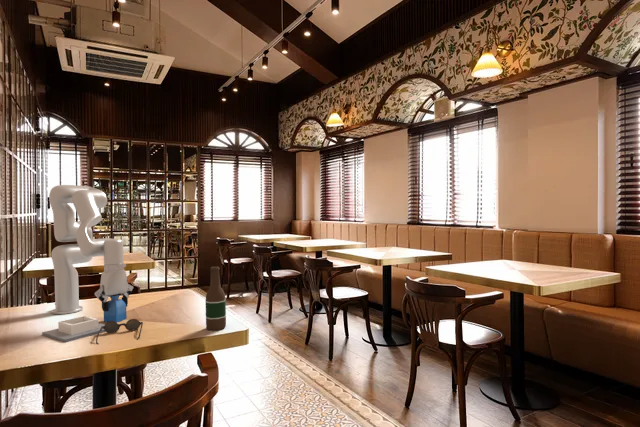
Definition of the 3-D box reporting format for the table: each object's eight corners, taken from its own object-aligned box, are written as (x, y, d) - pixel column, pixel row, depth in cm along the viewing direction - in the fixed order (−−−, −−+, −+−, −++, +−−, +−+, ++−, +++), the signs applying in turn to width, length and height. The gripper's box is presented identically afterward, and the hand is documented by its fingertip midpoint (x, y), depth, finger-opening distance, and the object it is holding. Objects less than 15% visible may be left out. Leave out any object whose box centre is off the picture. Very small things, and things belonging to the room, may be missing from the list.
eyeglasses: (143, 329, 160) (142, 317, 160) (140, 340, 146) (140, 327, 146) (101, 334, 155) (101, 321, 155) (94, 346, 141) (94, 332, 141)
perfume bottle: (116, 322, 170) (115, 294, 170) (103, 322, 171) (103, 293, 171) (126, 318, 176) (125, 291, 176) (114, 318, 177) (113, 290, 177)
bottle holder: (42, 334, 155) (41, 323, 154) (90, 323, 170) (89, 312, 170) (65, 342, 145) (65, 329, 145) (114, 329, 160) (113, 318, 160)
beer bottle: (208, 332, 153) (206, 268, 153) (204, 327, 160) (202, 266, 160) (228, 329, 157) (227, 267, 157) (223, 324, 164) (222, 265, 164)
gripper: (128, 265, 183) (129, 303, 183) (88, 270, 168) (89, 312, 168) (137, 265, 179) (139, 305, 179) (98, 271, 164) (99, 314, 164)
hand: (115, 308), depth 174 cm, fingers closed on perfume bottle, 8 cm apart
